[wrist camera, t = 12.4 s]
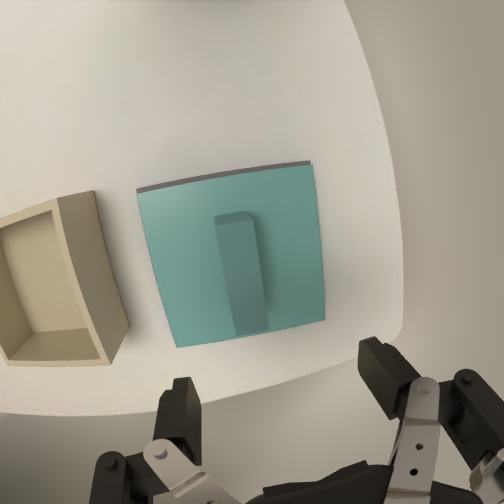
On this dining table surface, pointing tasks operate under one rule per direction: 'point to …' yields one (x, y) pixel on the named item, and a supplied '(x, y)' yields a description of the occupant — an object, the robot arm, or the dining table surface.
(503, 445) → the robot arm
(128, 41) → the dining table surface
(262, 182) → the lid
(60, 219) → the storage box
